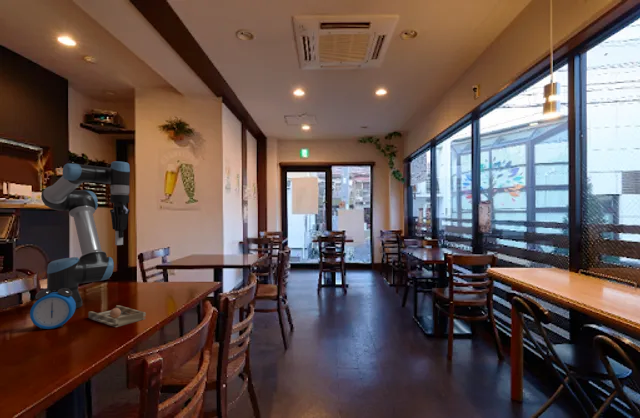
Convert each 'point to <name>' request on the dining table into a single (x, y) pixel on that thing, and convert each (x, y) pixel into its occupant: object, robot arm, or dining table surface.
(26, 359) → the dining table surface
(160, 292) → the dining table surface
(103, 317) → the lane
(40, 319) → the alarm clock
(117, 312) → the ball
